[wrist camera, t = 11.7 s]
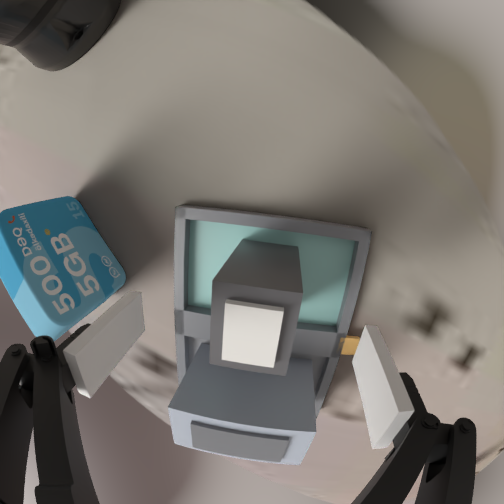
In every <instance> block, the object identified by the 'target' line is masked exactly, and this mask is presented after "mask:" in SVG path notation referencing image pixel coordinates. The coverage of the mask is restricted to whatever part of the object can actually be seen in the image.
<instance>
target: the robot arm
mask: <svg viewBox="0 0 504 504" xmlns="http://www.w3.org/2000/svg"><path fill="white" fill-rule="evenodd" d="M120 1H121V0H0V44H2V45H7V46H10V47H14V48H16V49H17V50H18V51H19V52H20V53H21V54H22V55H23V56H24V57H26V58H27V59H28V60H29V61H30V62H31V63H32V64H33V65H35V66H36V67H38V68H41V69H44V70H48V71H57V70H61V69H63V68H65V67H67V66H69V65H70V64H72V63H73V62H75V61H76V60H77V59H79V58H80V57H81V56H82V55H83V54H85V53H86V52H87V51H88V50H89V49H90V48H91V47H92V46H93V45H94V43H95V42H96V41H97V40H98V39H99V38H100V37H101V35H102V34H103V33H104V31H105V30H106V29H107V27H108V26H109V24H110V23H111V21H112V20H113V18H114V16H115V14H116V12H117V10H118V7H119V5H120ZM144 331H145V326H144V317H143V307H142V295H141V292H137V291H133V290H130V291H129V292H128V293H127V294H125V295H124V296H123V297H122V298H121V299H120V300H118V301H117V302H116V303H115V304H114V305H113V306H111V307H110V308H109V309H108V310H107V311H106V312H105V313H103V314H102V315H101V316H100V317H99V318H98V319H97V320H96V321H94V322H93V323H92V324H86V325H83V326H81V327H80V328H78V329H77V330H76V331H75V332H74V333H73V334H72V335H71V336H70V337H68V339H66V340H65V341H64V342H63V343H62V344H61V345H59V346H58V347H57V348H56V346H55V344H54V340H53V338H51V337H50V336H47V335H42V336H38V337H36V338H34V339H33V340H32V341H31V343H30V346H31V348H32V351H33V353H34V354H30V353H28V352H27V350H26V347H25V346H24V345H23V344H14V345H11V346H10V347H9V348H8V349H7V350H6V352H5V354H4V356H3V358H2V360H1V362H0V504H23V500H24V484H25V474H26V465H27V457H28V451H29V445H30V439H31V433H32V429H33V428H34V443H35V454H36V462H37V469H38V476H39V486H36V487H35V497H36V502H37V504H99V501H98V498H97V495H96V492H95V489H94V486H93V483H92V480H91V477H90V473H89V469H88V466H87V462H86V458H85V454H84V450H83V445H82V441H81V436H80V431H79V426H78V420H77V414H76V407H75V401H74V393H73V390H72V388H73V387H74V386H75V385H76V387H77V389H78V391H79V393H80V394H83V395H85V396H87V397H89V398H91V397H92V396H93V395H94V393H95V392H96V391H97V389H98V388H99V387H100V385H101V384H102V383H103V382H104V380H105V379H106V378H107V377H108V375H109V374H110V373H111V372H112V370H113V369H114V368H115V367H116V365H117V364H118V363H119V362H120V360H121V359H122V358H123V357H124V355H125V354H126V353H127V352H128V350H129V349H130V348H131V347H132V345H133V344H134V343H135V342H136V341H137V339H138V338H139V337H140V336H141V334H142V333H143V332H144ZM352 364H353V368H354V371H355V375H356V379H357V383H358V387H359V391H360V395H361V399H362V404H363V408H364V412H365V417H366V421H367V426H368V430H369V435H370V440H371V445H372V449H379V448H387V447H388V446H389V445H390V443H391V442H392V441H393V444H394V448H393V449H392V450H391V452H390V453H389V454H388V455H387V456H386V457H385V458H384V459H385V461H384V462H383V464H382V465H381V467H380V468H379V469H378V471H377V472H376V473H375V475H374V476H373V477H372V479H371V480H370V481H369V483H368V484H367V485H366V487H365V488H364V489H363V490H362V492H361V493H360V494H359V495H358V496H357V498H356V499H355V500H354V501H353V502H352V503H351V504H402V503H403V501H404V500H405V498H406V497H407V495H408V493H409V492H410V490H411V488H412V486H413V485H414V483H415V481H416V479H417V478H418V476H419V474H420V472H421V470H422V468H423V466H424V464H425V466H424V470H423V475H422V479H421V483H420V487H419V491H418V494H417V498H416V501H415V504H471V503H472V497H473V489H474V480H475V467H476V427H475V424H474V423H473V422H472V421H471V420H470V419H467V418H460V419H458V420H457V421H456V422H455V423H454V425H451V424H443V423H440V420H439V419H438V418H437V417H436V416H435V415H433V414H430V413H428V412H427V410H426V408H425V405H424V403H423V401H422V399H421V396H420V394H419V393H418V390H417V388H416V385H415V383H414V381H413V379H412V378H411V377H410V376H409V375H408V374H407V373H399V372H398V369H397V367H396V365H395V363H394V360H393V358H392V356H391V354H390V352H389V350H388V347H387V345H386V343H385V341H384V339H383V337H382V335H381V333H380V331H379V329H378V327H377V326H376V325H365V327H364V330H363V333H362V336H361V338H360V341H359V344H358V347H357V350H356V352H355V355H354V358H353V360H352ZM19 383H20V384H19Z"/></svg>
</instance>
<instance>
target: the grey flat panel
mask: <svg viewBox="0 0 504 504" xmlns="http://www.w3.org/2000/svg"><path fill="white" fill-rule="evenodd" d="M371 234H372V231H371V230H369V229H368V228H363V227H357V226H350V225H344V224H337V223H331V222H324V221H317V220H310V219H303V218H296V217H288V216H280V215H273V214H265V213H256V212H248V211H239V210H230V209H221V208H211V207H201V206H190V205H179V206H176V209H175V234H174V314H175V338H176V356H177V370H178V382H179V385H180V383H181V381H182V379H183V377H184V375H185V374H186V372H187V370H188V368H189V366H190V364H191V362H192V360H193V358H194V356H195V354H196V352H197V350H198V349H199V347H200V345H201V343H204V344H209V345H210V322H211V297H212V280H213V279H214V277H215V276H216V275H217V273H218V272H219V270H220V269H221V268H222V266H223V265H224V264H225V262H226V261H227V259H228V258H229V257H230V255H231V254H232V253H233V251H234V250H235V248H236V247H237V246H238V244H239V243H240V242H241V240H242V239H245V240H252V241H260V242H268V243H275V244H283V245H290V246H298V249H299V258H300V267H301V276H302V286H303V297H302V302H301V307H300V313H299V318H298V322H297V327H296V332H295V337H294V341H293V346H292V351H291V355H290V357H292V358H300V359H310V360H312V367H313V381H314V397H315V415H316V418H317V416H318V414H319V411H320V409H321V406H322V404H323V401H324V399H325V396H326V394H327V391H328V388H329V386H330V383H331V380H332V378H333V375H334V372H335V369H336V366H337V363H338V361H339V358H340V355H341V354H345V355H355V352H356V349H357V346H358V343H359V340H360V338H359V336H347V333H348V329H349V326H350V322H351V319H352V316H353V312H354V308H355V305H356V301H357V297H358V293H359V289H360V285H361V281H362V277H363V273H364V268H365V264H366V259H367V255H368V250H369V245H370V240H371Z"/></svg>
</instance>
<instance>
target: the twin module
mask: <svg viewBox="0 0 504 504" xmlns="http://www.w3.org/2000/svg"><path fill="white" fill-rule="evenodd" d="M209 357H210V345H209V344H204V343H201V345H200V347H199V349H198V350H197V352H196V354H195V356H194V358H193V360H192V362H191V364H190V366H189V368H188V370H187V372H186V374H185V375H184V377H183V379H182V381H181V383H180V385H179V387H178V389H177V391H176V393H175V395H174V397H173V398H172V400H171V402H170V404H169V406H168V411H169V417H170V422H171V428H172V433H173V438H174V443H175V444H178V445H181V446H185V447H188V448H192V449H196V450H201V451H205V452H209V453H213V454H218V455H223V456H228V457H233V458H239V459H245V460H252V461H260V462H268V463H278V464H290V465H300V464H301V462H302V460H303V458H304V456H305V454H306V452H307V450H308V448H309V446H310V444H311V442H312V440H313V438H314V436H315V434H316V415H315V397H314V381H313V367H312V360H310V359H300V358H292V357H290V359H289V364H288V368H287V372H286V376H281V375H273V374H266V373H259V372H252V371H246V370H240V369H234V368H229V367H223V366H218V365H213V364H209Z"/></svg>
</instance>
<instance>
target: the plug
mask: <svg viewBox="0 0 504 504" xmlns="http://www.w3.org/2000/svg"><path fill="white" fill-rule="evenodd" d="M302 297H303V286H302V276H301V267H300V258H299V249H298V246H290V245H283V244H275V243H268V242H260V241H252V240H245V239H242V240H241V242H240V243H239V244H238V246H237V247H236V248H235V250H234V251H233V253H232V254H231V255H230V257H229V258H228V259H227V261H226V262H225V264H224V265H223V266H222V268H221V269H220V270H219V272H218V273H217V275H216V276H215V277H214V279H213V280H212V297H211V322H210V357H209V364H213V365H218V366H223V367H229V368H234V369H240V370H246V371H252V372H259V373H266V374H273V375H281V376H286V372H287V368H288V364H289V359H290V355H291V351H292V346H293V341H294V337H295V332H296V327H297V322H298V318H299V313H300V307H301V302H302Z"/></svg>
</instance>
